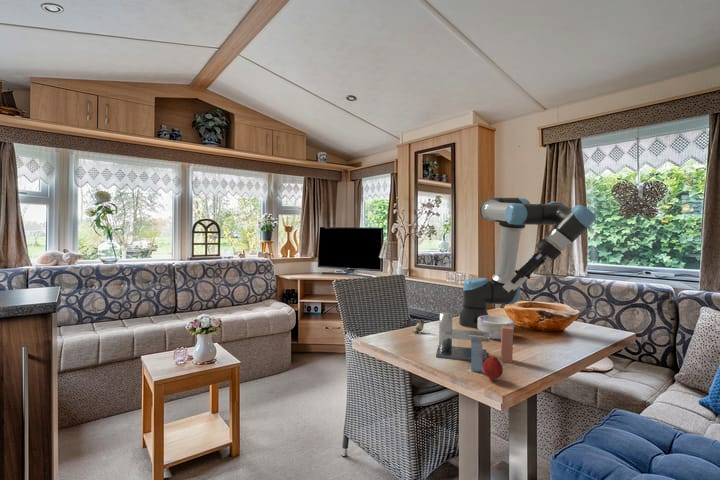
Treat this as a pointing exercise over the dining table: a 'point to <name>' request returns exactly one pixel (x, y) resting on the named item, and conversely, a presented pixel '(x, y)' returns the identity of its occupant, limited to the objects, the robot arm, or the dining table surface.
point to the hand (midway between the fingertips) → (508, 288)
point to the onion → (492, 368)
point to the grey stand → (461, 353)
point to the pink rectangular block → (506, 344)
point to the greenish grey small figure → (419, 327)
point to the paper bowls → (493, 325)
